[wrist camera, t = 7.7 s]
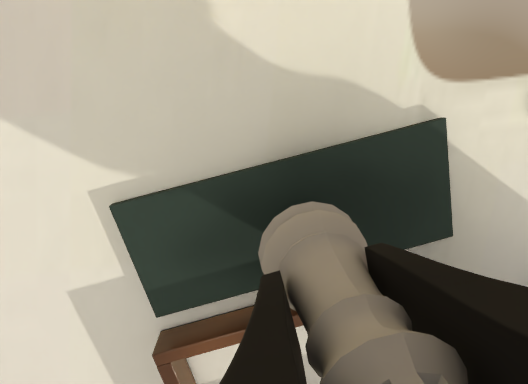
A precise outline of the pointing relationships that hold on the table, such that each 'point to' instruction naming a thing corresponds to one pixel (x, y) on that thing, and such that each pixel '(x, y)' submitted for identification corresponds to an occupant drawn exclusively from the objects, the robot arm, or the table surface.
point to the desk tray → (200, 342)
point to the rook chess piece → (349, 304)
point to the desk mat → (278, 200)
